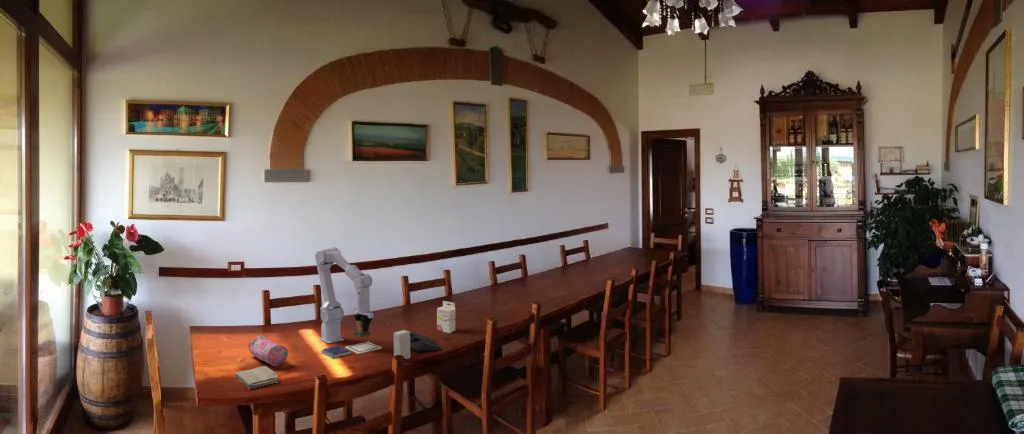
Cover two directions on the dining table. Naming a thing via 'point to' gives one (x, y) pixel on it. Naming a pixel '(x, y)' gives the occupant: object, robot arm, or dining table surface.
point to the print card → (363, 347)
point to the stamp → (360, 330)
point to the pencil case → (268, 351)
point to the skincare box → (402, 343)
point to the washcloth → (257, 377)
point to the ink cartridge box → (446, 317)
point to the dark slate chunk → (422, 343)
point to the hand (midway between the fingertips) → (363, 330)
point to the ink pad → (335, 351)
